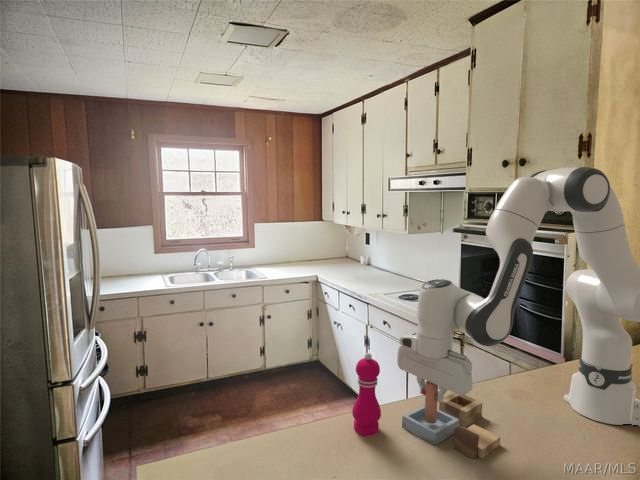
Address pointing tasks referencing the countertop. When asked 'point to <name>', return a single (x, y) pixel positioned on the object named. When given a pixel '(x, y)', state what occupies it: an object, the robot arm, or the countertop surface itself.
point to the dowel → (430, 403)
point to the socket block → (461, 408)
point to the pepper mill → (367, 397)
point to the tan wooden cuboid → (485, 440)
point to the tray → (430, 425)
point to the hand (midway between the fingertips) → (431, 397)
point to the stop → (466, 442)
